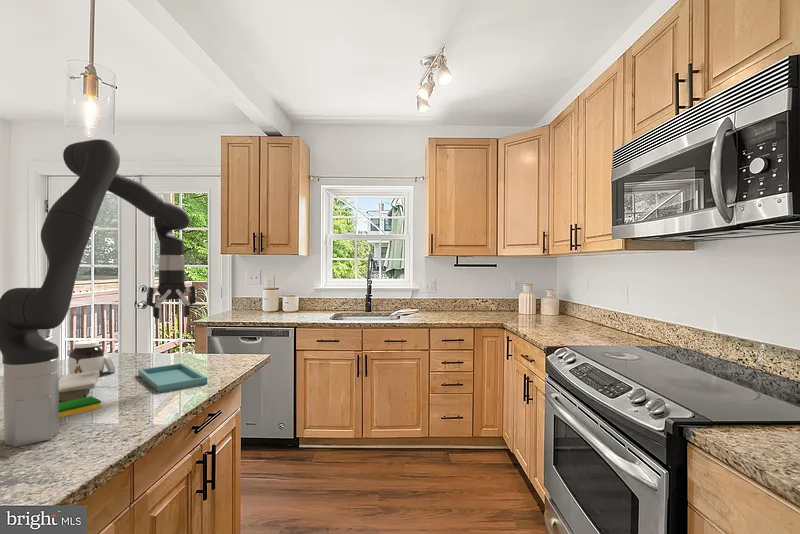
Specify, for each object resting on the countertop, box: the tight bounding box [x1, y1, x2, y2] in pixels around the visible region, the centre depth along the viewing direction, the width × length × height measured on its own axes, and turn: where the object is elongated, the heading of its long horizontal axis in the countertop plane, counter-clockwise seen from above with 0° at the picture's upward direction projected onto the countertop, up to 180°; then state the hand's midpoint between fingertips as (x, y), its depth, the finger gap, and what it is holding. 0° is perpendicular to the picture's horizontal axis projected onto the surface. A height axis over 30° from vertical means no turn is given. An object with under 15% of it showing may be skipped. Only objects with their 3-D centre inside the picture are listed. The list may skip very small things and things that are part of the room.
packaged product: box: [59, 371, 101, 402], centre depth 124 cm, size 18×5×10 cm
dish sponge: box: [59, 395, 102, 419], centre depth 110 cm, size 7×14×2 cm, turn 144°
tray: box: [137, 362, 208, 394], centre depth 141 cm, size 26×14×2 cm, turn 43°
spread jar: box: [67, 340, 116, 375], centre depth 147 cm, size 12×11×12 cm
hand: (171, 317), depth 140 cm, fingers open, 8 cm apart
